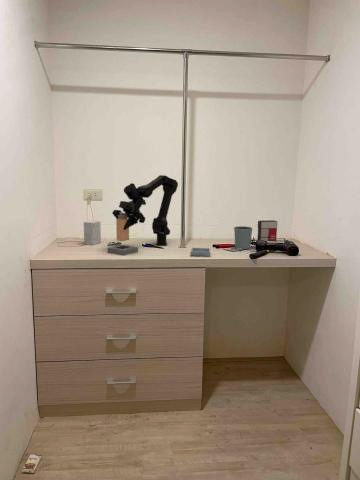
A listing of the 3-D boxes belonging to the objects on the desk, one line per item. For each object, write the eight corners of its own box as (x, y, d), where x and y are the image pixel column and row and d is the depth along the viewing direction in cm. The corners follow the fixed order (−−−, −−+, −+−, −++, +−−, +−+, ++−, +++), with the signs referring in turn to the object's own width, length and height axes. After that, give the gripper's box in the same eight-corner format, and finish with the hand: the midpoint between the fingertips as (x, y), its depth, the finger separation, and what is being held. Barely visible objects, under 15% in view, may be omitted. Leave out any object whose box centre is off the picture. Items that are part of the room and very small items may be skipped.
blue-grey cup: (253, 247, 219) (254, 227, 217) (248, 250, 210) (249, 229, 208) (236, 245, 224) (237, 225, 221) (230, 248, 215) (231, 227, 213)
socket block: (122, 250, 204) (122, 244, 203) (138, 253, 197) (138, 247, 197) (107, 254, 195) (107, 247, 194) (123, 257, 188) (123, 250, 188)
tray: (191, 252, 204) (191, 247, 203) (210, 252, 203) (210, 248, 202) (190, 256, 194) (190, 251, 193) (210, 257, 193) (210, 252, 193)
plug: (123, 239, 198) (123, 214, 195) (129, 240, 196) (128, 214, 193) (116, 240, 194) (116, 215, 191) (122, 241, 192) (122, 215, 189)
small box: (92, 242, 226) (91, 220, 224) (101, 243, 224) (100, 221, 222) (83, 244, 219) (83, 221, 217) (92, 245, 217) (92, 222, 214)
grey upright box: (259, 246, 222) (261, 221, 219) (256, 245, 226) (257, 220, 223) (276, 246, 225) (278, 221, 222) (273, 244, 229) (274, 220, 226)
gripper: (114, 194, 199) (99, 217, 192) (141, 196, 189) (127, 220, 182) (124, 208, 207) (110, 230, 200) (151, 210, 196) (137, 234, 189)
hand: (120, 228), depth 192 cm, fingers closed on plug, 4 cm apart
